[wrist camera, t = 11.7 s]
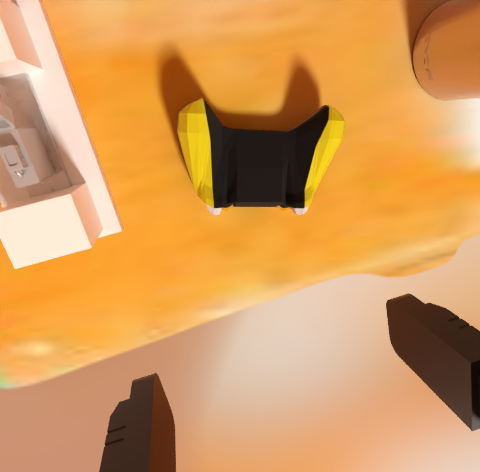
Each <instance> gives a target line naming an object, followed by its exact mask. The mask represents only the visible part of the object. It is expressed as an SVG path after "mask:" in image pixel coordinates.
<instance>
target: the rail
mask: <svg viewBox="0 0 480 472" xmlns="http://www.w3.org/2000/svg"><path fill="white" fill-rule="evenodd" d="M0 100H1V101H2V102H3V103H4V104H5V105H6V106H8V107H9V108H10V109H11V110H12V115H13V119H14V123H15V128H22V127H35V128H37V129H38V131H39V133H40V136H41V138H42V141H43V143H44V146H45V148H46V151H47V153H48V156H49V158H50V161H51V163H52V165H53V168H54V170H55V175H54V176H52V177H50V178H48V179H45V180H43V181H41V182H39V183H36V184H32V185H28V186H25V187H26V189H27V192H28V194H29V196H30V197H34V196H38V195H42V194H46V193H50V192H54V191H57V190H61V189H65V188H69V187H71V186H72V184H71V181H70V178H69V176H68V173H67V171H66V168H65V166H64V163H63V161H62V158H61V156H60V153H59V151H58V148H57V145H56V143H55V140H54V138H53V135H52V133H51V130H50V128H49V125H48V123H47V120H46V117H45V115H44V112H43V110H42V107H41V105H40V102H39V100H38V97H37V95H36V92H35V90H34V87H33V84H32V82H31V79H30V77H29V74H28V73H20V74H16V75H12V76H7V77H3V78H0Z"/></svg>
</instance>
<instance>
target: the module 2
mask: <svg viewBox="0 0 480 472" xmlns="http://www.w3.org/2000/svg"><path fill="white" fill-rule="evenodd" d="M103 229H104V228H103V225H102V222H101V220H100V217H99V214H98V212H97V209H96V207H95V204H94V201H93V199H92V196H91V193H90V191H89V188H88V185H87V183H86V182H85V183H81V184H78V185H74V186H71V187H69V188H65V189H61V190H57V191H54V192H50V193H46V194H42V195H38V196H34V197H27V198H24V199H20V200H17V201H15V202H13V203H11V204H9V205H8V206H6V207H4V208H2V209H0V239H1V241H2V243H3V245H4V247H5V249H6V251H7V253H8V256H9V258H10V260H11V262H12V264H13V266H14V268H15V269H17V268H21V267H24V266H28V265H31V264H35V263H39V262H42V261H46V260H50V259H53V258H57V257H60V256H64V255H68V254H71V253H75V252H78V251H82V250H86V249H89V248H92V247H93V245H94V243H95V242H96V240H97V238H98V237H99V235H100V234H101V232H102V230H103Z"/></svg>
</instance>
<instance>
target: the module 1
mask: <svg viewBox="0 0 480 472" xmlns="http://www.w3.org/2000/svg"><path fill="white" fill-rule="evenodd" d="M42 70H44V69H43V67H42V64H41V61H40V59H39V56H38V54H37V51H36V48H35V46H34V43H33V40H32V38H31V35H30V32H29V30H28V27H27V25H26V22H25V19H24V17H23V14H22V11H21V9H20V8H19V7H18V6H17V5H15V4H14V3H13V2H11V1H10V0H0V78H3V77H7V76H12V75H16V74H20V73H33V72H37V71H42Z"/></svg>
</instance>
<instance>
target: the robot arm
mask: <svg viewBox="0 0 480 472" xmlns="http://www.w3.org/2000/svg"><path fill="white" fill-rule="evenodd" d="M413 64H414V71H415V74H416V77H417V79H418V82H419V83H420V85H421V86H422V88H423V89H424V90H425V91H426V92H427V93H428V94H429V95H431V96H433V97H435V98H437V99H441V100H458V99H471V98H480V0H450V1H448V2H446V3H444V4H442V5H440V6H439V7H437V8H436V9H435V10H434V11H432V12H431V14H430V15H429V16H428V17H427V18H426V20H425V21H424V23H423V24H422V26H421V28H420V30H419V32H418V35H417V38H416V40H415V45H414V50H413ZM386 308H387V317H388V326H389V335H390V340H391V344H392V346H393V348H394V350H395V352H396V353H397V354H398V356H399V357H400V358H401V359H402V360H403V361H404V362H405V363H406V364H407V365H408V366H409V367H410V368H411V369H412V370H413V371H414V372H415V373H416V374H417V375H418V376H419V377H420V378H421V379H422V380H423V381H424V382H425V383H426V384H427V385H428V386H429V387H430V389H432V391H433V392H434V393H436V395H437V396H438V397H439V398H440V399H441V400H442V401H443V402H444V403H445V404H446V405H447V406H448V407H449V408H450V409H451V410H452V411H453V412H454V413H455V414H456V415H457V416H458V417H459V418H460V419H461V420H462V421H463V422H464V423H465V424H466V425H467V426H468V427H469V428H470V429H471V430H472V431H474V430H477V429H479V428H480V331H479V330H477V329H476V328H474V327H473V326H470V325H469V324H468V323H467V322H466V321H464V320H462V319H459V317H458V316H457V315H455V314H453V313H452V312H451V311H449V310H447V309H446V308H443V307H440V306H437V305H434V304H432V303H427V304H424V303H423V302H421V301H420V300H419V299H417V298H416V297H414V296H413V295H411V294H406V295H403V296H399V297H396V298H393V299H390V300H388V301H387V303H386ZM107 432H108V434H107V436H106V441H105V447H104V451H103V456H102V461H101V466H100V471H99V472H176V454H175V453H176V452H175V424H174V419H173V414H172V411H171V408H170V405H169V402H168V400H167V397H166V395H165V392H164V389H163V387H162V384H161V381H160V379H159V377H158V375H157V374H156V373H155V374H152V375H148V376H146V377H142V378H139V379H136V380H133V382H132V387H131V394H130V399H128V400H124V401H121V402H119V404H118V405H117V407H116V409H115V410H114V412H113V413H112V415H111V416H110V421H109V426H108V431H107Z"/></svg>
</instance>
